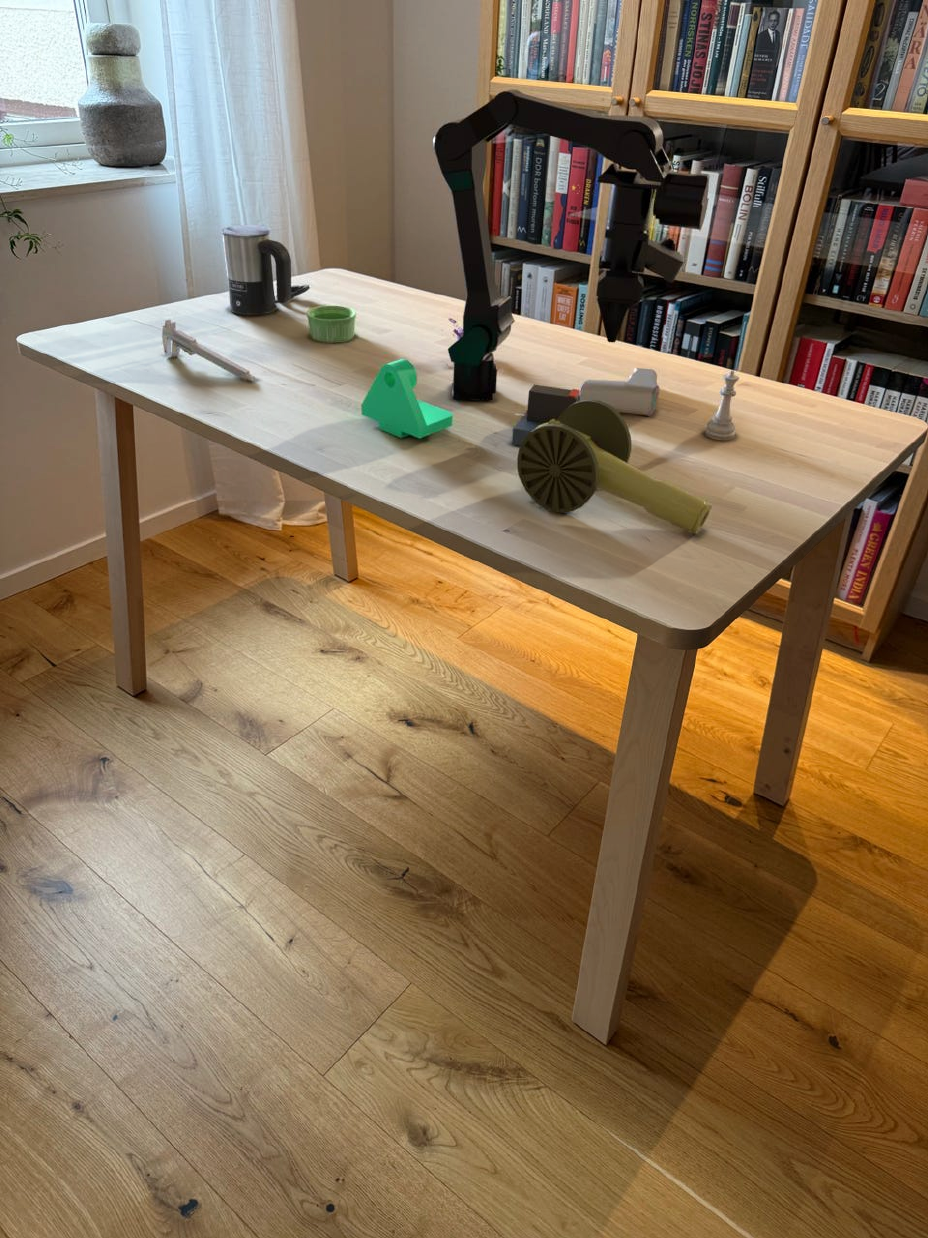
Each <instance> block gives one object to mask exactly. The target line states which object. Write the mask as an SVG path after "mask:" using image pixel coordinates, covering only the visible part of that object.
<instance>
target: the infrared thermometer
mask: <svg viewBox="0 0 928 1238" xmlns="http://www.w3.org/2000/svg"><path fill="white" fill-rule="evenodd" d="M579 390H580V391H581V395H580V401H581V400H587V399H593V400H599V401H602V402H604V403H607V404H608V405H610V406H612V407H613V408H614V409H615V410H616V411H617V412H619V413H623V414H631V415H640V416H652V414H653V412H654V410H655V409H656V405H657V401H658V397H659V393H660V392H659V391H660V387H659V385H658V374H657V372H656V371H655V370H654V369H651V368H643V367H634V371H633V373H631V374H630V376H629V378H628V379H627V380H626V381H623V380H622V381H621V380H605V379H604V380H602V379H587V380H585V381H584V382H583V383H582V385H581V387H580V389H579Z"/></svg>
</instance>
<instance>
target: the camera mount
mask: <svg viewBox="0 0 928 1238" xmlns="http://www.w3.org/2000/svg"><path fill="white" fill-rule="evenodd" d="M417 382H418V375H417V370H416V369H415V366H414V365H413V363H412V362H410V360H408V359H407V358H406V359H405V358H401V359H398V360H394V361H392V362H388V363H385V364H383V365H381V367H380V368H379V370H378V372H377V374H376V376H375V378H374V379H373V382H372V384H371V386H370V388H369V389H368V392H367V393H366V396H365V398H364V399H363V401H362V403H361V405H360V406H361V407H360V408H361V415H362V416H364V417H367V418H369V419H371V420H374V421H376V422H378V430H381V431H384V432H386V433H388V434H391V435H393V436H394V437H395V436H396V437H398V438H400V439H403V438H405V437H408V436H412V437H415V438H417V439H423V438H424V437H427V436H429V435H432V434H434V433H436V432H440V431H442V430H445V429H447V428H449V427H452V426H453V422H454V421H453V419H454V418H453V417H454V414H453V413H452V412H451V411H448V410H446V409H443V408H440V407H438V406H435V405H432V404H431V403H427V402H424V401H422V400H420V399H418V398H417V396H416V393H415V390H414V388H415V387H416V385H417Z"/></svg>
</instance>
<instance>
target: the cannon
mask: <svg viewBox="0 0 928 1238" xmlns="http://www.w3.org/2000/svg"><path fill="white" fill-rule="evenodd" d="M629 429H630V428H629V426H628V425H627V422H626V421H625V419H624V417H623V416H622V415H621V413H620V412H617V411H616V410H615V409H614V408H613V407H612V406H610V405H608V404H607V403H604V402H602V401H599V400H593V399H587V400H581V401H578V402H575V403H574V404H572V405H570V406H569V407H567V408H566V409H565V410H564V411H563V412H562V413H561V415H560V416H559V418H558V420H556V419H552V420H550V421H549V422H547V423H544V424H542V425H539V426H538V427H537V428H536V429H534V430H533V431H532V432H531V433H530V434H529V435H528V436H527V437H526V438H525V439H524V441H523V442H522V444H521V446H519V449H518V452H517V459H516V462H517V464H516V465H517V467H516V468H517V472H518V477H519V480H520V482H521V485H522V488H524V490H525V492H526V493H527V494H528V496H529V497H530V498H531V499H532V500H533V501H534V502H535V503H536V504H537V505H539V507H542V508H543V509H546V510H548V511H551V512H555V513H560V514H561V513H571V512H574V511H577V510H578V509H581V508H582V507H583V506H584V505H585V504H587V503H588V501H590V500H591V498H592V497H593V496H594V494H595V492H596V490H599V491H602V492H605V493H607V494H609V495H612V496H614V497H617V498H619V499H621V500H624V501H627V502H629V503H632V504H634V505H637V506H639V507H641V508H643V509H644V510H645V511H646V512H647V513H648V514H651V515H653V516H655V517H657V518H659V519H661V520H663V521H665V522H667V523H669V524H671V525H673V526H676V527H678V528H679V529H681V530H683V531H686V532H688V533H693V534H695V535H697V534H699V532H700V531H701V530H702V528H703V526H704V525H705V523H706V521H707V519H708V517H709V514H710V512H711V510H712V507H713V505H712V504H711V503H708V502H707V500H706V499H703V498H701V497H699V496H697V495H695V494H694V493H690V492H689V491H688V490H685V489H682V488H680V487H678V486H676V485H674V484H672V483H670V482H668V481H666V480H661V479H656V478H654V477H653V476H651V475H650V474H648V473H646V472H644V471H642V470H641V469H639V468H637V467H636V466H634V465H631V464H630V463H629V461H630V458H631V454H632V445H633V444H632V436H631V432H630V430H629Z"/></svg>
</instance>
